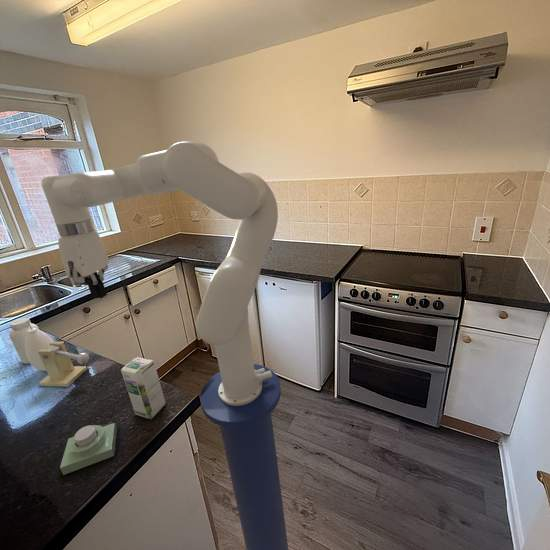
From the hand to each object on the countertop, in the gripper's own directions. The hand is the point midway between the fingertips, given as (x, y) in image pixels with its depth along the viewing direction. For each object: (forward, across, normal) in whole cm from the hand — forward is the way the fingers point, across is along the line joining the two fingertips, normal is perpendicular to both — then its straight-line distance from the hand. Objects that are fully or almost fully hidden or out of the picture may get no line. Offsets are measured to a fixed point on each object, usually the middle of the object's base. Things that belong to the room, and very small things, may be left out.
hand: (99, 296), depth 79 cm
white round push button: (+25, +22, +5) cm, 34 cm away
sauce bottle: (+29, -6, -34) cm, 45 cm away
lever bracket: (+29, -2, -24) cm, 38 cm away
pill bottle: (+29, -11, -45) cm, 55 cm away
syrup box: (+29, +9, +12) cm, 33 cm away
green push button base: (+29, +22, +5) cm, 37 cm away
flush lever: (+22, -2, -20) cm, 30 cm away
